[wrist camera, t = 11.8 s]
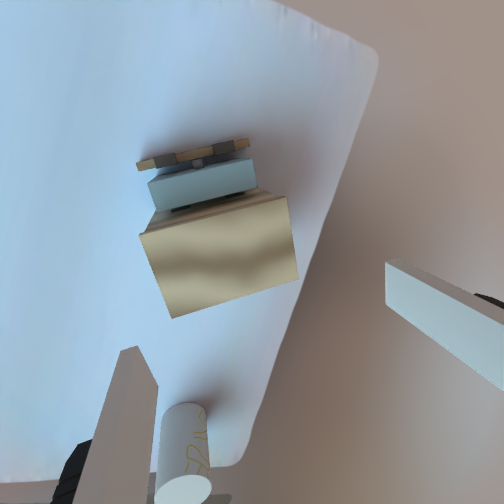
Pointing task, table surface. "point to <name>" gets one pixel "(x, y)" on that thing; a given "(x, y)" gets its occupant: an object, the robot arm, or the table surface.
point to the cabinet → (218, 242)
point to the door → (202, 183)
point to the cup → (183, 456)
